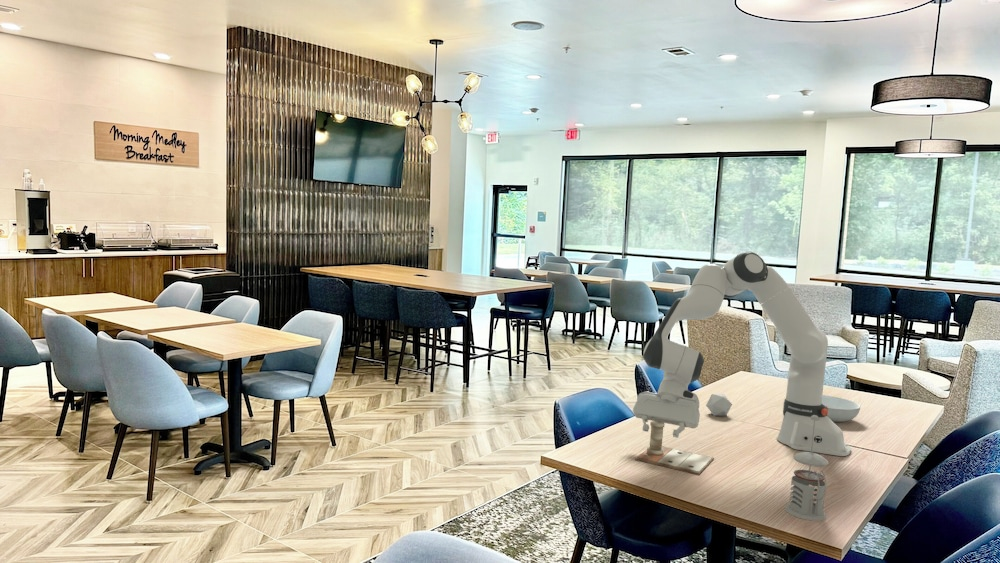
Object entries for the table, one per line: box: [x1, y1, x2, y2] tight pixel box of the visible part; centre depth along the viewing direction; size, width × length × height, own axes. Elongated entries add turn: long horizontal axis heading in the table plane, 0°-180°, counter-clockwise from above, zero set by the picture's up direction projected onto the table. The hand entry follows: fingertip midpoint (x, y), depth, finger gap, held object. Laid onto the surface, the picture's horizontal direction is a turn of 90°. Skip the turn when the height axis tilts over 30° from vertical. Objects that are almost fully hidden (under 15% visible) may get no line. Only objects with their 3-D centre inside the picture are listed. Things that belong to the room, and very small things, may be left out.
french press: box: [784, 415, 829, 522], centre depth 171 cm, size 10×12×25 cm
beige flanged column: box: [646, 420, 666, 456], centre depth 210 cm, size 5×5×9 cm
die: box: [705, 393, 733, 417], centre depth 262 cm, size 8×9×10 cm
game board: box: [634, 445, 715, 476], centre depth 207 cm, size 19×17×1 cm
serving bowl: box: [822, 394, 861, 423], centre depth 266 cm, size 21×21×7 cm
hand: (659, 433), depth 211 cm, fingers open, 8 cm apart
